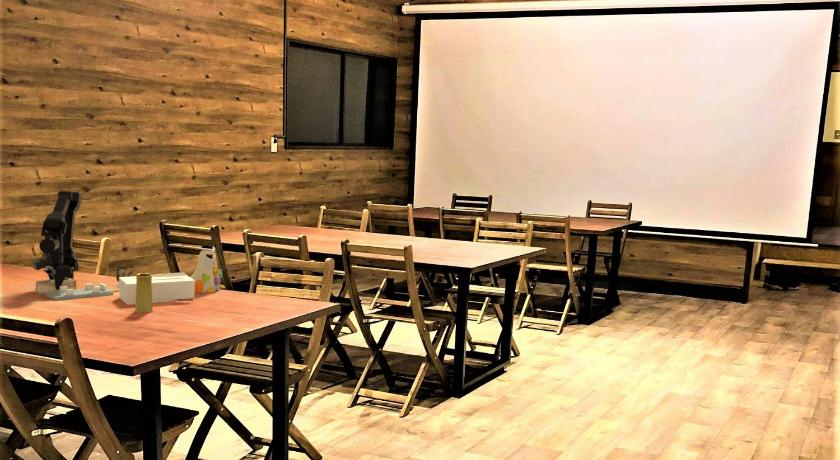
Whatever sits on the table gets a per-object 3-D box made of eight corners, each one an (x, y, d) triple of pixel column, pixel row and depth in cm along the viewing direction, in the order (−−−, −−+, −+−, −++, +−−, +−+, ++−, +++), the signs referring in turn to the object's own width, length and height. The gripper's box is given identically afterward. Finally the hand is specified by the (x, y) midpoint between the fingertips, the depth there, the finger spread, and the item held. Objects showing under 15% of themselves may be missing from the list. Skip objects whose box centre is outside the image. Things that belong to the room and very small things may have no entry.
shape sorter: (209, 297, 344) (209, 252, 341) (184, 295, 346) (184, 251, 343) (229, 288, 363) (230, 245, 360) (206, 286, 365) (206, 244, 362)
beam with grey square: (35, 292, 339) (35, 279, 338) (72, 288, 348) (72, 276, 348) (39, 294, 336) (39, 281, 335) (76, 290, 345) (76, 278, 345)
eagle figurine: (137, 287, 355) (137, 266, 354) (131, 291, 348) (131, 269, 347) (118, 287, 355) (118, 265, 354) (112, 290, 348) (112, 268, 347)
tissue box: (119, 299, 334) (119, 271, 333) (184, 295, 347) (184, 268, 345) (126, 307, 322) (126, 278, 320) (194, 302, 334) (194, 274, 333)
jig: (46, 296, 333) (46, 287, 332) (102, 290, 348) (102, 281, 347) (55, 301, 326) (55, 291, 325) (113, 294, 340) (113, 286, 340)
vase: (147, 311, 315) (147, 272, 314) (155, 314, 311) (156, 275, 309) (131, 313, 311) (131, 274, 309) (139, 316, 307) (139, 277, 305)
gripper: (25, 247, 341) (25, 286, 343) (42, 254, 328) (42, 295, 330) (54, 245, 349) (54, 284, 351) (72, 252, 335) (72, 292, 337)
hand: (55, 288), depth 342 cm, fingers closed on beam with grey square, 4 cm apart
